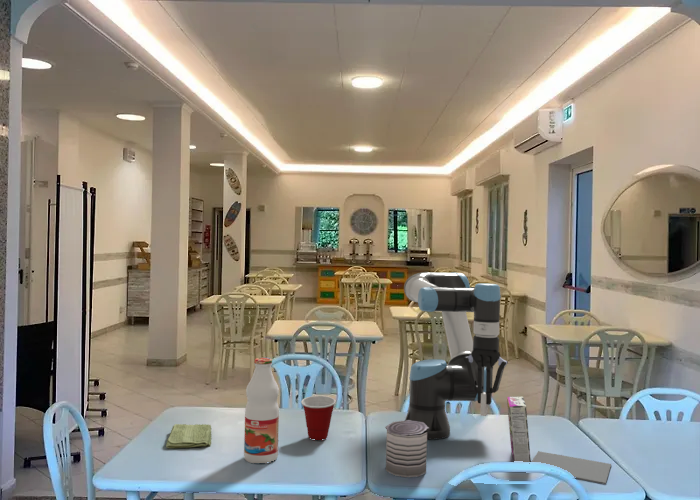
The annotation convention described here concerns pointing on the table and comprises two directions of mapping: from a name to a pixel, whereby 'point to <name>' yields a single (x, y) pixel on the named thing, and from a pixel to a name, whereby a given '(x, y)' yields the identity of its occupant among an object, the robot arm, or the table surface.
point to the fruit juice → (261, 415)
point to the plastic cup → (318, 415)
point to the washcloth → (189, 436)
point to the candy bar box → (518, 429)
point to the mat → (576, 466)
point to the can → (406, 448)
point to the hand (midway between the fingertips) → (484, 414)
